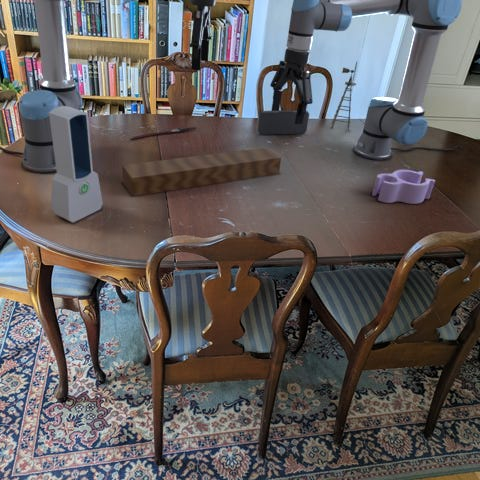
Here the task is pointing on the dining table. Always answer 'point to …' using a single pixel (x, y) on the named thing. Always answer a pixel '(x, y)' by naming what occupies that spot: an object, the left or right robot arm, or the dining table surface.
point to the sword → (164, 132)
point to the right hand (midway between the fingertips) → (286, 116)
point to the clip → (402, 187)
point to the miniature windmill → (345, 97)
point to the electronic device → (73, 165)
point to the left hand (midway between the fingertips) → (200, 65)
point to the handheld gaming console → (281, 122)
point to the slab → (199, 170)
